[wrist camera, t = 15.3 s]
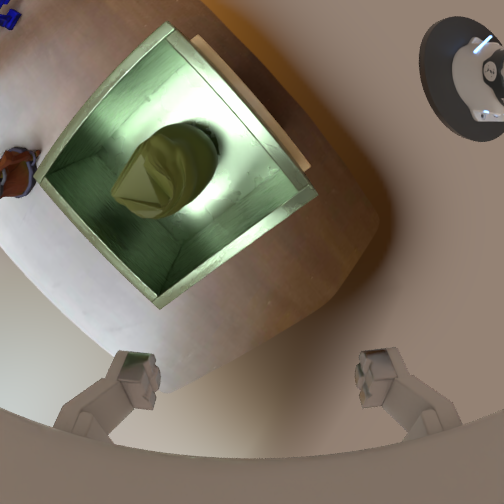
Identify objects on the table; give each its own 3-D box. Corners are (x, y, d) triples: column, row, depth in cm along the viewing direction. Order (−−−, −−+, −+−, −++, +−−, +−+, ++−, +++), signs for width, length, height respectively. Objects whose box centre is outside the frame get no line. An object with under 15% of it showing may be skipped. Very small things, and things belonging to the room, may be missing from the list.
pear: (191, 202, 24) (154, 264, 16) (140, 162, 23) (76, 203, 14) (235, 149, 22) (220, 181, 14) (181, 106, 21) (130, 111, 12)
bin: (283, 133, 49) (336, 197, 16) (219, 183, 53) (160, 321, 21) (229, 70, 44) (169, 3, 11) (166, 124, 48) (22, 176, 16)
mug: (42, 117, 46) (-8, 129, 33) (65, 164, 51) (18, 187, 37) (-3, 163, 50) (-47, 183, 36) (17, 204, 54) (-25, 232, 41)
